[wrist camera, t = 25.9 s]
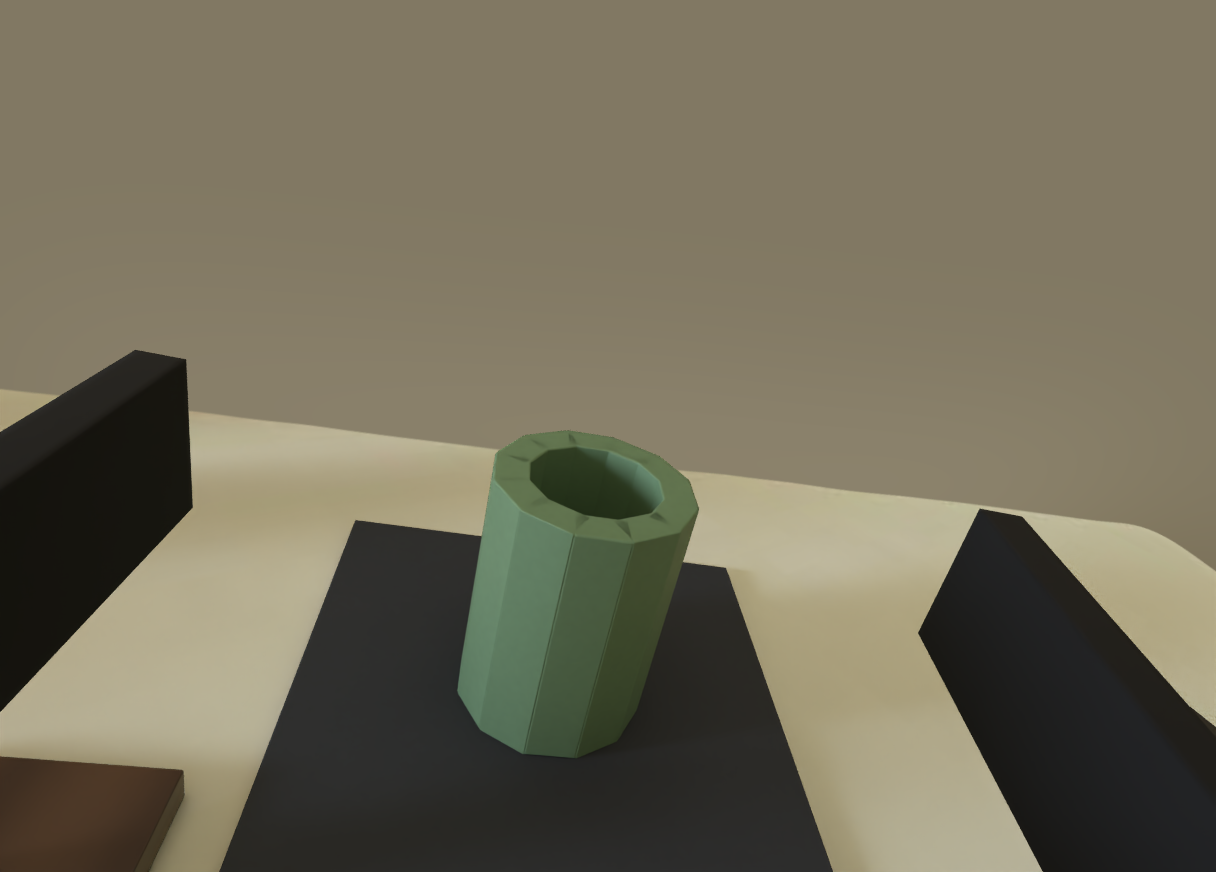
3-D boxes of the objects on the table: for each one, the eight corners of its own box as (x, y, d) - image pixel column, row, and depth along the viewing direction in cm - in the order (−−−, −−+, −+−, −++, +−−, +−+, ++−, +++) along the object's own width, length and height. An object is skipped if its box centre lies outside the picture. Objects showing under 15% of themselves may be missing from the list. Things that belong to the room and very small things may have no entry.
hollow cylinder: (625, 632, 36) (678, 446, 31) (644, 765, 29) (715, 553, 25) (467, 614, 35) (499, 419, 30) (449, 748, 28) (488, 523, 24)
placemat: (724, 573, 43) (726, 567, 42) (855, 951, 25) (859, 944, 25) (354, 526, 39) (355, 519, 39) (202, 923, 22) (202, 914, 21)
